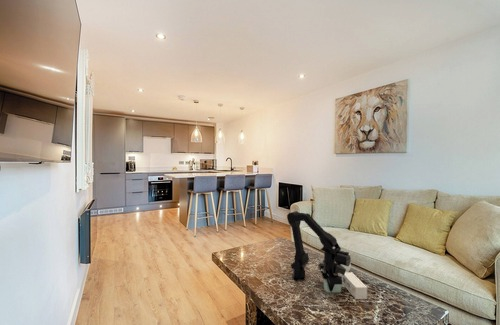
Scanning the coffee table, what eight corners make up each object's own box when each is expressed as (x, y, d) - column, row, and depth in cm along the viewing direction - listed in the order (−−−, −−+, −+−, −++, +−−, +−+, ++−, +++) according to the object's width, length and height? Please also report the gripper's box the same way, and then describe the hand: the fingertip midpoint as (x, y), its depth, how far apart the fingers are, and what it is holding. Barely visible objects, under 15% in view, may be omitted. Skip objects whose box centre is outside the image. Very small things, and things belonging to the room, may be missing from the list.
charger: (326, 292, 123) (326, 283, 123) (323, 287, 127) (323, 278, 127) (345, 292, 123) (345, 282, 123) (342, 287, 127) (342, 278, 127)
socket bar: (355, 299, 117) (355, 287, 117) (341, 282, 133) (341, 272, 133) (367, 299, 118) (367, 287, 118) (351, 282, 134) (352, 272, 134)
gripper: (352, 267, 116) (352, 298, 116) (336, 253, 135) (336, 279, 135) (330, 268, 115) (330, 299, 115) (318, 253, 134) (317, 280, 134)
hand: (329, 288), depth 125 cm, fingers closed on charger, 4 cm apart
